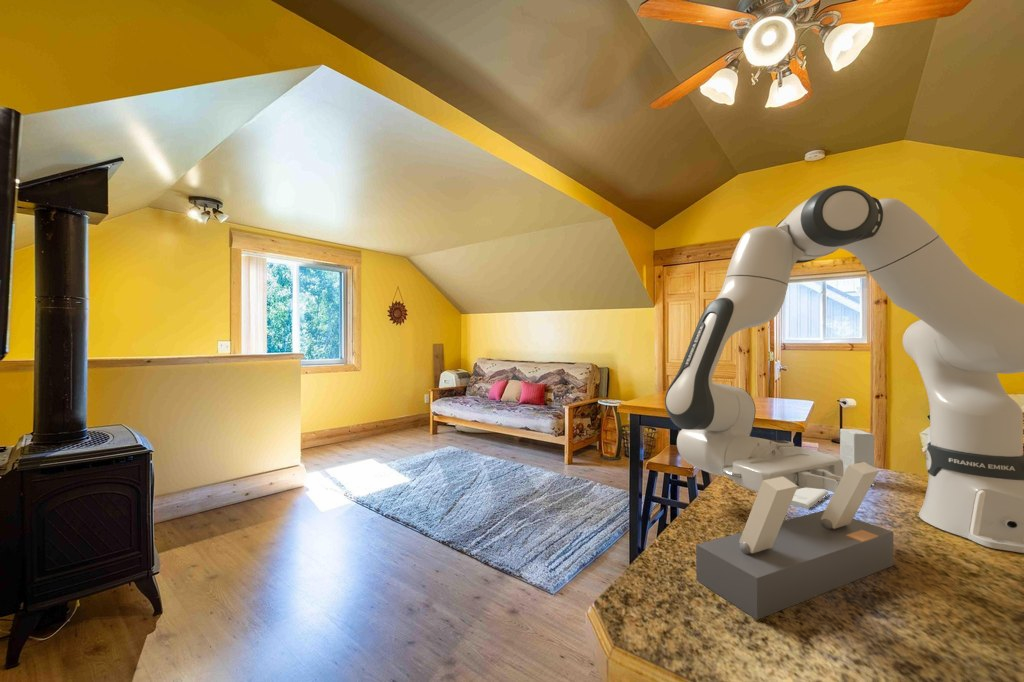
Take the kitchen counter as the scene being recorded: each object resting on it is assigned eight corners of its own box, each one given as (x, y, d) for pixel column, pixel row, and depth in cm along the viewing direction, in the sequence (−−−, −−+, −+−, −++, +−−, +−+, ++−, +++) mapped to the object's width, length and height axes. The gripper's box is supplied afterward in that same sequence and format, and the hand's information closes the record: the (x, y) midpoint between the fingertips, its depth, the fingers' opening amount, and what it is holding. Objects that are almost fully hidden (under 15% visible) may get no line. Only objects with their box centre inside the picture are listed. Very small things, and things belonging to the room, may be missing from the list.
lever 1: (736, 546, 56) (761, 480, 53) (758, 540, 58) (784, 476, 55) (749, 558, 54) (776, 490, 51) (771, 551, 56) (798, 485, 53)
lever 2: (817, 522, 63) (847, 465, 60) (835, 517, 65) (865, 461, 62) (831, 532, 62) (862, 474, 58) (848, 527, 64) (880, 470, 60)
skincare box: (875, 486, 95) (875, 434, 95) (854, 485, 96) (854, 433, 96) (859, 477, 101) (858, 429, 101) (839, 476, 102) (839, 428, 102)
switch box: (696, 580, 58) (696, 543, 58) (826, 539, 70) (826, 508, 70) (757, 619, 49) (756, 576, 49) (893, 565, 61) (893, 530, 62)
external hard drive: (828, 497, 90) (808, 512, 82) (785, 487, 96) (763, 499, 89) (828, 490, 90) (808, 503, 82) (785, 480, 96) (763, 492, 89)
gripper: (714, 450, 71) (797, 473, 58) (791, 439, 79) (878, 457, 66) (714, 487, 71) (798, 518, 58) (791, 472, 79) (879, 496, 66)
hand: (841, 485), depth 62 cm, fingers closed, pressing on lever 2
